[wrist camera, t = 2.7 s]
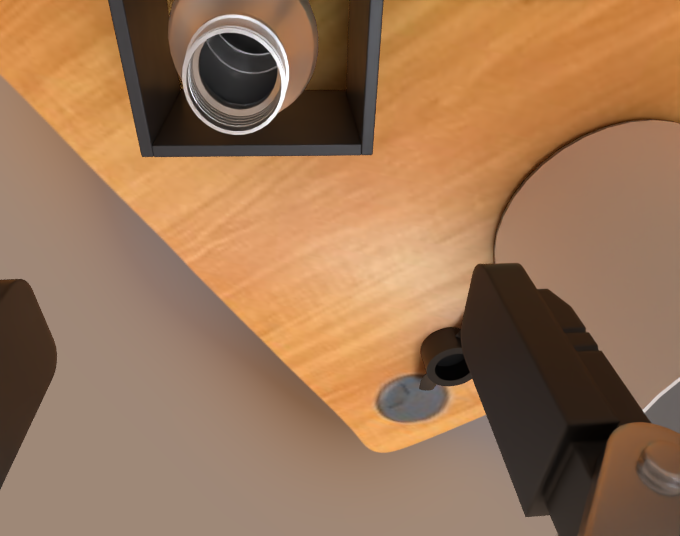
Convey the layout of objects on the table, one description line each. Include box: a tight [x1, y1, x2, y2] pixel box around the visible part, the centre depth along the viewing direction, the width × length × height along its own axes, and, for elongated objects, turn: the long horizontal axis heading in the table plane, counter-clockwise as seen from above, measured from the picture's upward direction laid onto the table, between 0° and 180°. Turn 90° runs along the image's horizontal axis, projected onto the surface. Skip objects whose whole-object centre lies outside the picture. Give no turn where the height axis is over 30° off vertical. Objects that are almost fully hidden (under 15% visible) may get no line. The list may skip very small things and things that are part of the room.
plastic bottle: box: [168, 0, 318, 135], centre depth 26 cm, size 6×7×20 cm
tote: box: [108, 0, 384, 157], centre depth 30 cm, size 14×13×10 cm
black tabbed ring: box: [419, 328, 472, 390], centre depth 54 cm, size 8×10×3 cm
